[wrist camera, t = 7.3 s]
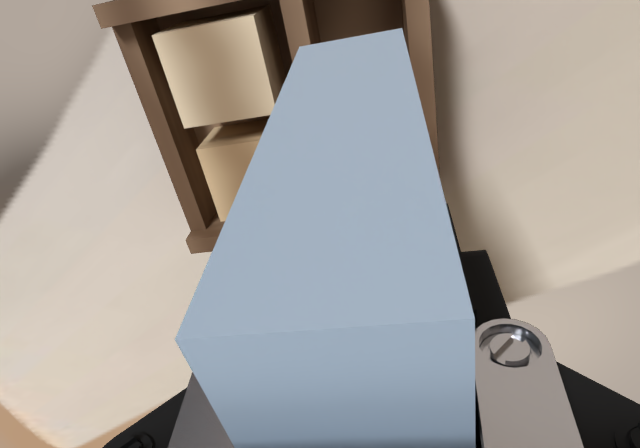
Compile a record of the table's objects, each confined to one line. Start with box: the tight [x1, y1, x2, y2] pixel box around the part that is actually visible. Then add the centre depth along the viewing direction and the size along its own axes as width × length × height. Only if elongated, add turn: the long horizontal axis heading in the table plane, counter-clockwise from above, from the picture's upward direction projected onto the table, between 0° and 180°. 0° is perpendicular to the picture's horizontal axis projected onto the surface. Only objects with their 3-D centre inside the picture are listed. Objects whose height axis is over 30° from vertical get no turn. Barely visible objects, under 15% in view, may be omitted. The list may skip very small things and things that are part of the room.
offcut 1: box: [152, 5, 286, 129], centre depth 24 cm, size 5×5×4 cm
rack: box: [92, 0, 440, 254], centre depth 26 cm, size 15×14×5 cm
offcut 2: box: [196, 119, 268, 222], centre depth 27 cm, size 5×5×4 cm
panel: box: [175, 28, 476, 448], centre depth 12 cm, size 3×9×11 cm, turn 11°
